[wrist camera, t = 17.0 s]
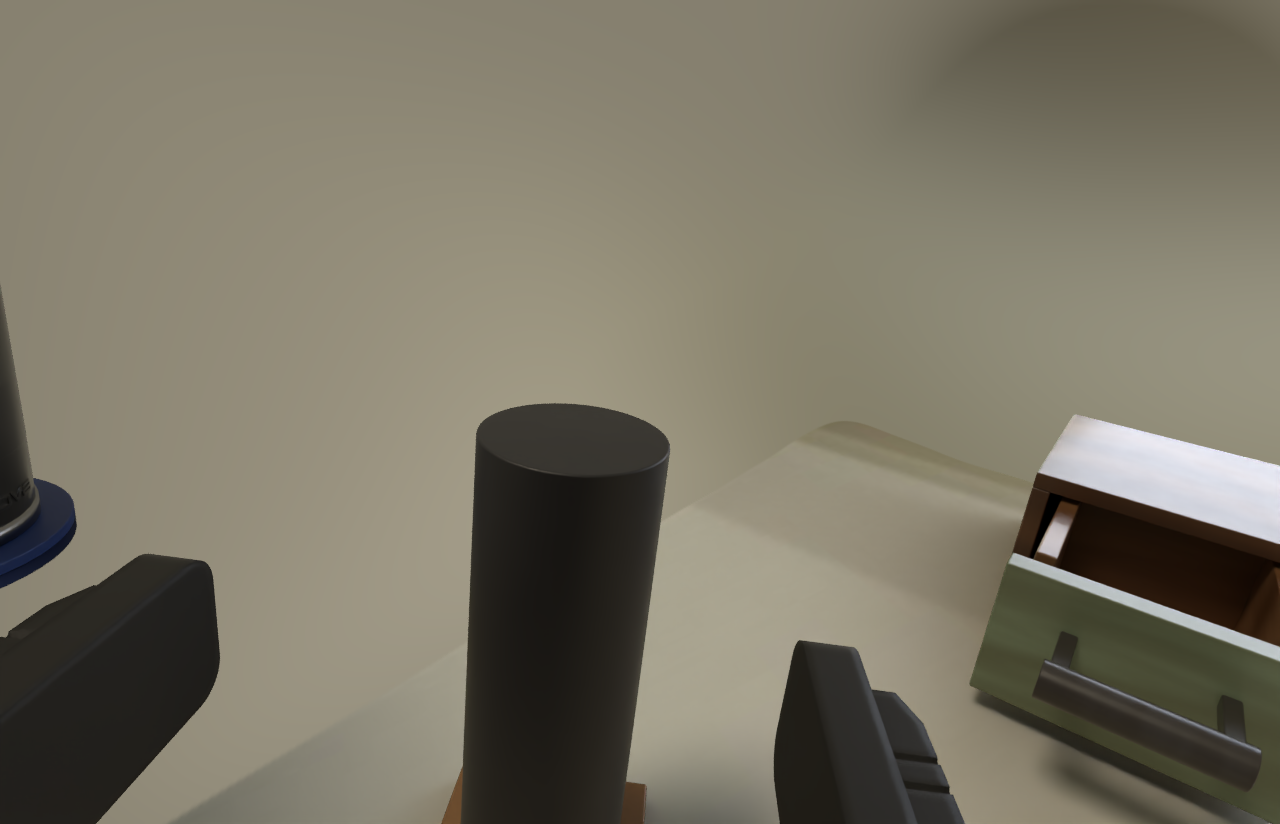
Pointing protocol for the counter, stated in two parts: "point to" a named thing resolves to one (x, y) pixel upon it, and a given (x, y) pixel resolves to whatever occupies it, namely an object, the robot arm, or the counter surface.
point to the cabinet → (1157, 487)
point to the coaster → (630, 811)
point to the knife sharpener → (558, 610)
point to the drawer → (1146, 650)
